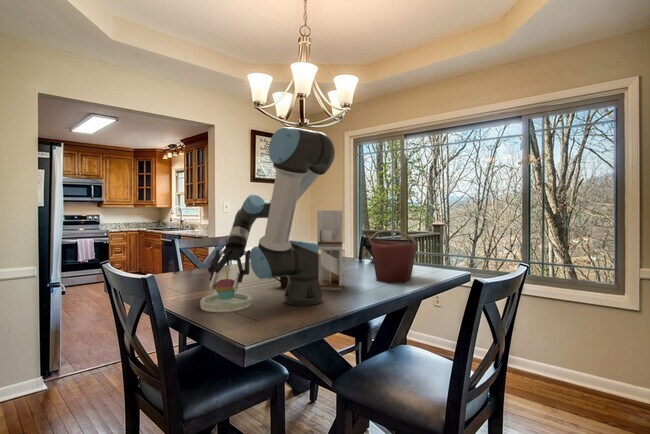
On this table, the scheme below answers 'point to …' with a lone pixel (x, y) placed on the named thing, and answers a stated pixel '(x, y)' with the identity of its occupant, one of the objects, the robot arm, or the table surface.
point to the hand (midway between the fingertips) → (223, 289)
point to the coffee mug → (283, 281)
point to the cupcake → (225, 288)
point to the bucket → (393, 259)
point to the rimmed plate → (225, 303)
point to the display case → (330, 247)
